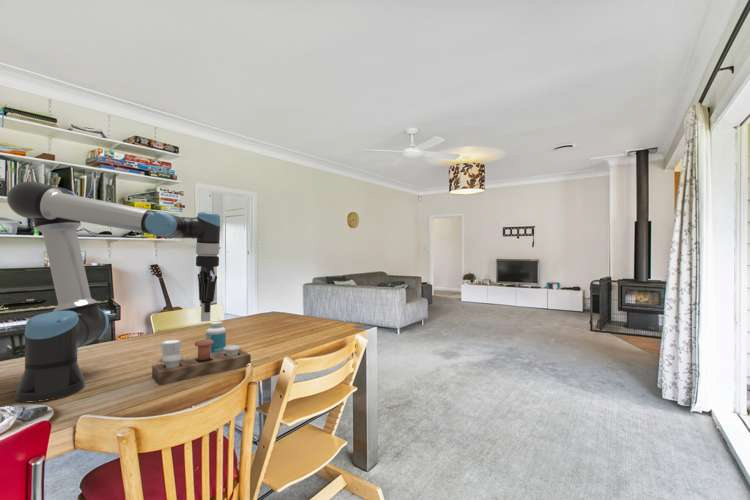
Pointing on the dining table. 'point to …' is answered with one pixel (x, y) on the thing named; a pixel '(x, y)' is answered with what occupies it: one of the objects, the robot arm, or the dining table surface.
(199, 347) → the brick-red plug
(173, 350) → the light grey flanged plug
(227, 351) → the grey plug right
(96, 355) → the dining table surface
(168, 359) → the grey plug left
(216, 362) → the press board
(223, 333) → the pill bottle
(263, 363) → the dining table surface
